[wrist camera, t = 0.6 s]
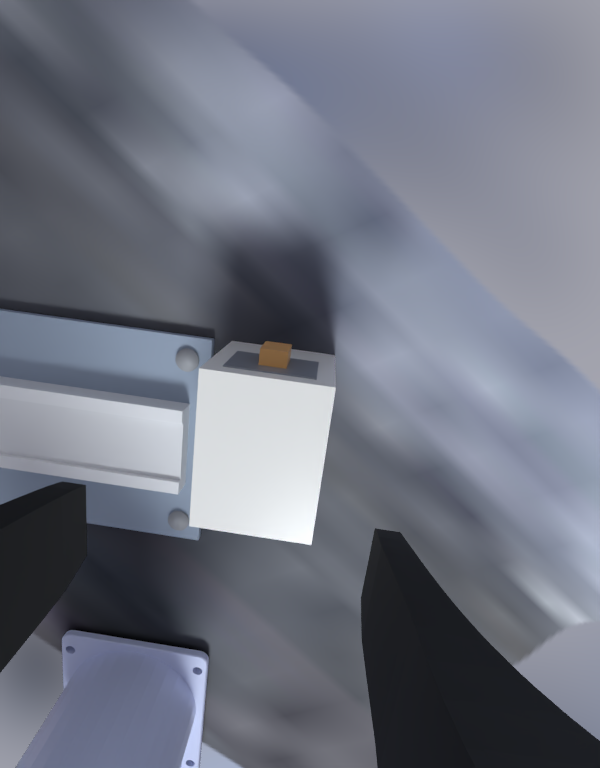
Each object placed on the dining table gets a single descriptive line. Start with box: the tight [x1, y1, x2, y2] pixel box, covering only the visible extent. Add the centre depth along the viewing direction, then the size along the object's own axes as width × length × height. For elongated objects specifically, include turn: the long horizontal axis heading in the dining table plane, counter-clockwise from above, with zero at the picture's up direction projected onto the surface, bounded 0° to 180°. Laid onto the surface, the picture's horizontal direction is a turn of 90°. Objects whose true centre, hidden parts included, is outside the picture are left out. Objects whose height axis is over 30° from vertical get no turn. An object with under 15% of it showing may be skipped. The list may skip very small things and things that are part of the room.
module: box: [189, 341, 336, 545], centre depth 17 cm, size 7×4×5 cm
